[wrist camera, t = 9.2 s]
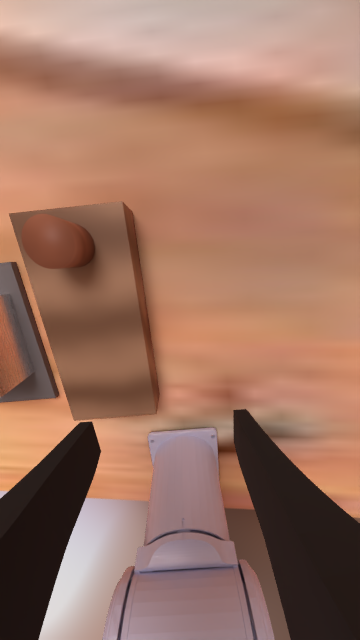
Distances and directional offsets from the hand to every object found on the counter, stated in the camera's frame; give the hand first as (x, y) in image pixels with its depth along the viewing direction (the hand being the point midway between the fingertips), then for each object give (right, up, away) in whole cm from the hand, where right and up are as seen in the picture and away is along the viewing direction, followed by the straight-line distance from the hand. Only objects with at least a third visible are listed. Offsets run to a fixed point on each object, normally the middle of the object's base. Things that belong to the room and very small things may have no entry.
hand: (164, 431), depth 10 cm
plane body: (-6, +6, +9) cm, 12 cm away
